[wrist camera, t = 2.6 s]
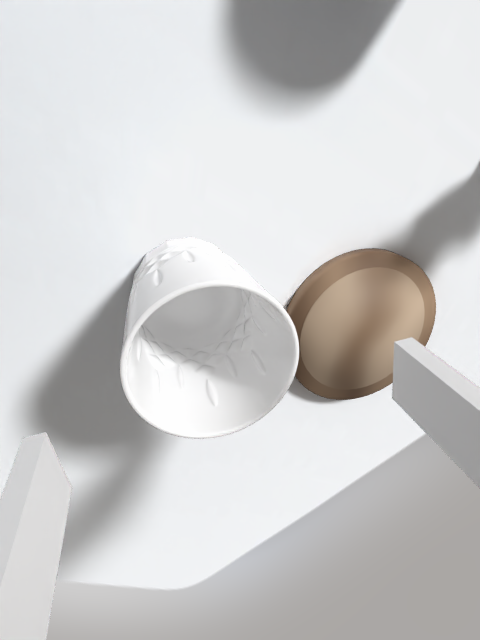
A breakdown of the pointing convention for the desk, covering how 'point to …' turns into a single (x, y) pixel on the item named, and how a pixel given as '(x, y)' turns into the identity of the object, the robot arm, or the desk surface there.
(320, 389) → the coaster
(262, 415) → the white cup
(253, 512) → the desk surface
